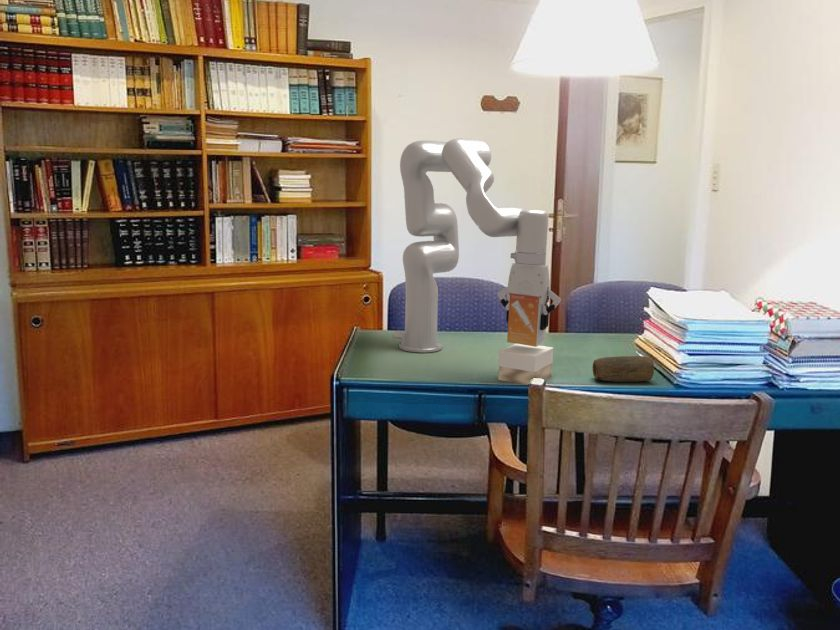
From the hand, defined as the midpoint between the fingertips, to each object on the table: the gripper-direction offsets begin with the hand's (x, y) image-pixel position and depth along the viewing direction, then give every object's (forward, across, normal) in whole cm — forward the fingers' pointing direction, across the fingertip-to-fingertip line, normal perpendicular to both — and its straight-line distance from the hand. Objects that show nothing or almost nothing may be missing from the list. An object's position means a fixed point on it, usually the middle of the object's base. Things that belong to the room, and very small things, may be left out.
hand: (526, 326), depth 198 cm
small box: (+4, 0, 0) cm, 4 cm away
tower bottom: (+14, 0, 0) cm, 14 cm away
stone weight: (+14, +23, +11) cm, 28 cm away
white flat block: (+10, 0, 0) cm, 10 cm away
